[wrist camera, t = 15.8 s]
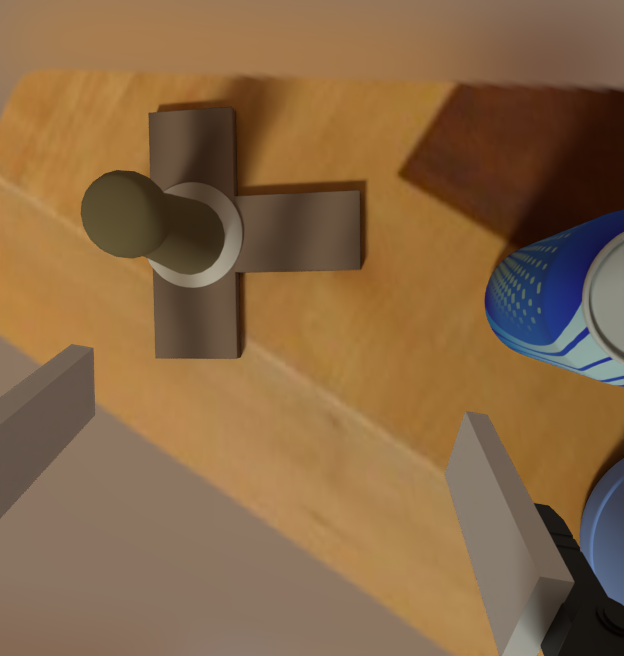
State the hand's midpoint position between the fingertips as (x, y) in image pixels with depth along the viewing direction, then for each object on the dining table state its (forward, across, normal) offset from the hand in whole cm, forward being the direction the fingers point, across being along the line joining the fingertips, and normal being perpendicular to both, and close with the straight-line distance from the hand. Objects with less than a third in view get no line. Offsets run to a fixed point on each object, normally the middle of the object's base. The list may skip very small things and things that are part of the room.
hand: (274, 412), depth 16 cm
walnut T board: (+24, -5, +1) cm, 24 cm away
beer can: (+21, +17, 0) cm, 27 cm away
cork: (+23, -10, 0) cm, 25 cm away
